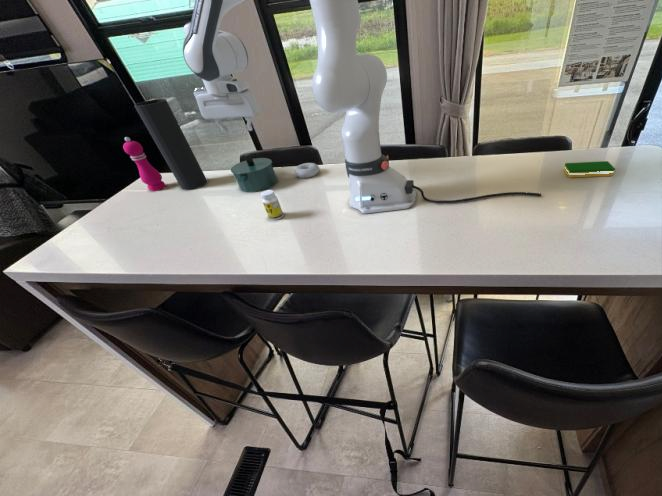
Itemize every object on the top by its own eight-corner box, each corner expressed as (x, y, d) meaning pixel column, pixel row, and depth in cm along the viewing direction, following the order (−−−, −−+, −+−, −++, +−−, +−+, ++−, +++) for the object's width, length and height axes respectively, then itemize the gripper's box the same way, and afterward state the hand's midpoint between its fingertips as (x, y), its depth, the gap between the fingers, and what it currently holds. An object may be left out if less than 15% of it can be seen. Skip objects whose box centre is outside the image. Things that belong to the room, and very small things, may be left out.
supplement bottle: (266, 218, 105) (256, 194, 99) (277, 212, 108) (268, 188, 102) (275, 221, 103) (265, 196, 97) (286, 215, 106) (277, 190, 100)
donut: (316, 179, 126) (323, 168, 134) (313, 170, 124) (320, 160, 131) (292, 180, 128) (300, 170, 135) (289, 171, 125) (297, 161, 132)
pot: (285, 173, 134) (279, 156, 129) (265, 194, 119) (257, 176, 115) (253, 175, 136) (246, 158, 131) (230, 195, 121) (221, 177, 117)
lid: (278, 159, 128) (274, 146, 124) (262, 175, 116) (257, 161, 113) (243, 161, 130) (238, 148, 126) (224, 176, 119) (217, 163, 115)
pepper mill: (144, 191, 133) (110, 139, 119) (159, 183, 138) (128, 133, 124) (156, 192, 131) (123, 140, 117) (171, 185, 135) (140, 134, 122)
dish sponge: (613, 176, 106) (615, 168, 104) (568, 178, 107) (570, 170, 106) (605, 167, 111) (607, 160, 109) (563, 169, 113) (564, 162, 111)
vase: (192, 179, 138) (149, 99, 117) (212, 179, 136) (172, 98, 116) (176, 190, 131) (127, 106, 110) (197, 190, 129) (151, 105, 108)
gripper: (185, 89, 104) (206, 135, 113) (243, 85, 101) (259, 132, 111) (196, 85, 109) (216, 130, 118) (252, 81, 106) (267, 127, 115)
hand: (237, 131), depth 114 cm, fingers open, 8 cm apart
